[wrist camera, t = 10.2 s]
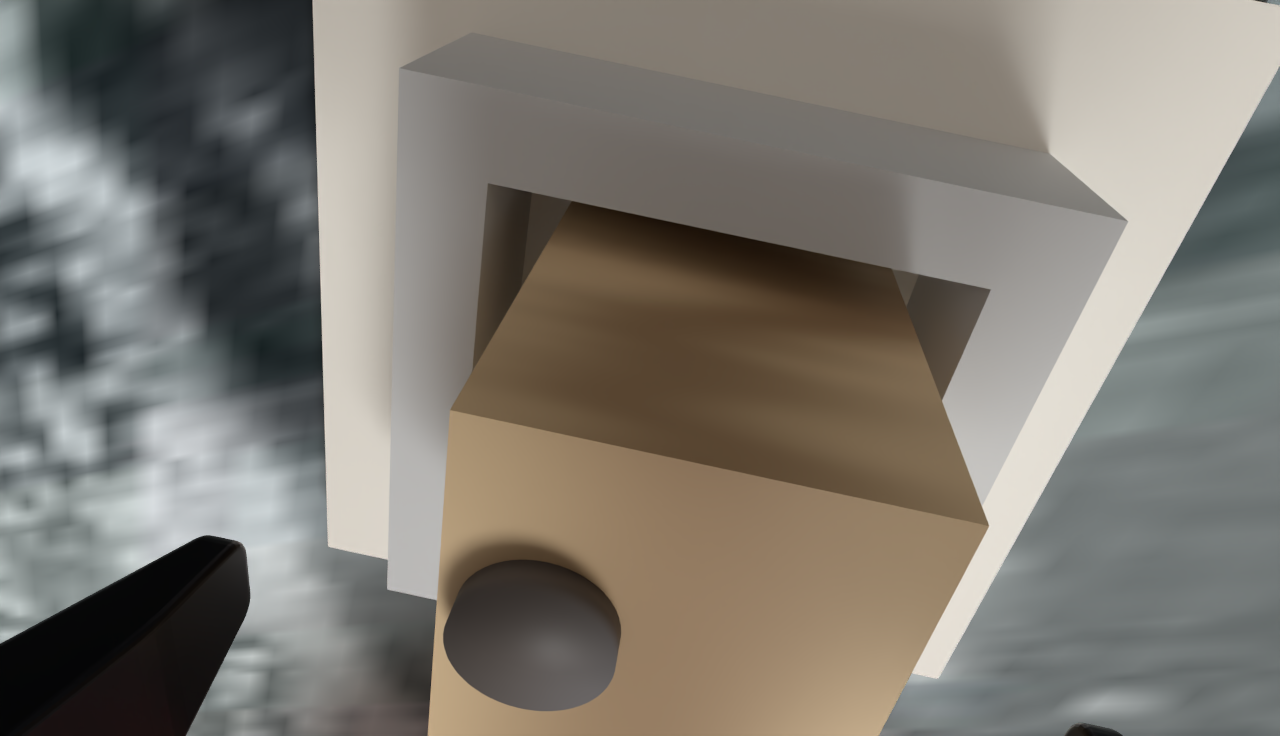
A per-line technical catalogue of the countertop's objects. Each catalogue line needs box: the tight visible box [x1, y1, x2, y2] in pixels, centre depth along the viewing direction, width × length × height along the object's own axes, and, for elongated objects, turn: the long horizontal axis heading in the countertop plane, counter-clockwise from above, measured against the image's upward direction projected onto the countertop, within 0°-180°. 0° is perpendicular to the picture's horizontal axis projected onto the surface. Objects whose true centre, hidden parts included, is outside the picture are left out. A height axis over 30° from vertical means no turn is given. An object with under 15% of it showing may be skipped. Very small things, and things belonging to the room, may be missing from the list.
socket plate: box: [313, 0, 1280, 679], centre depth 14 cm, size 14×14×4 cm
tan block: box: [428, 201, 989, 736], centre depth 12 cm, size 5×5×7 cm
